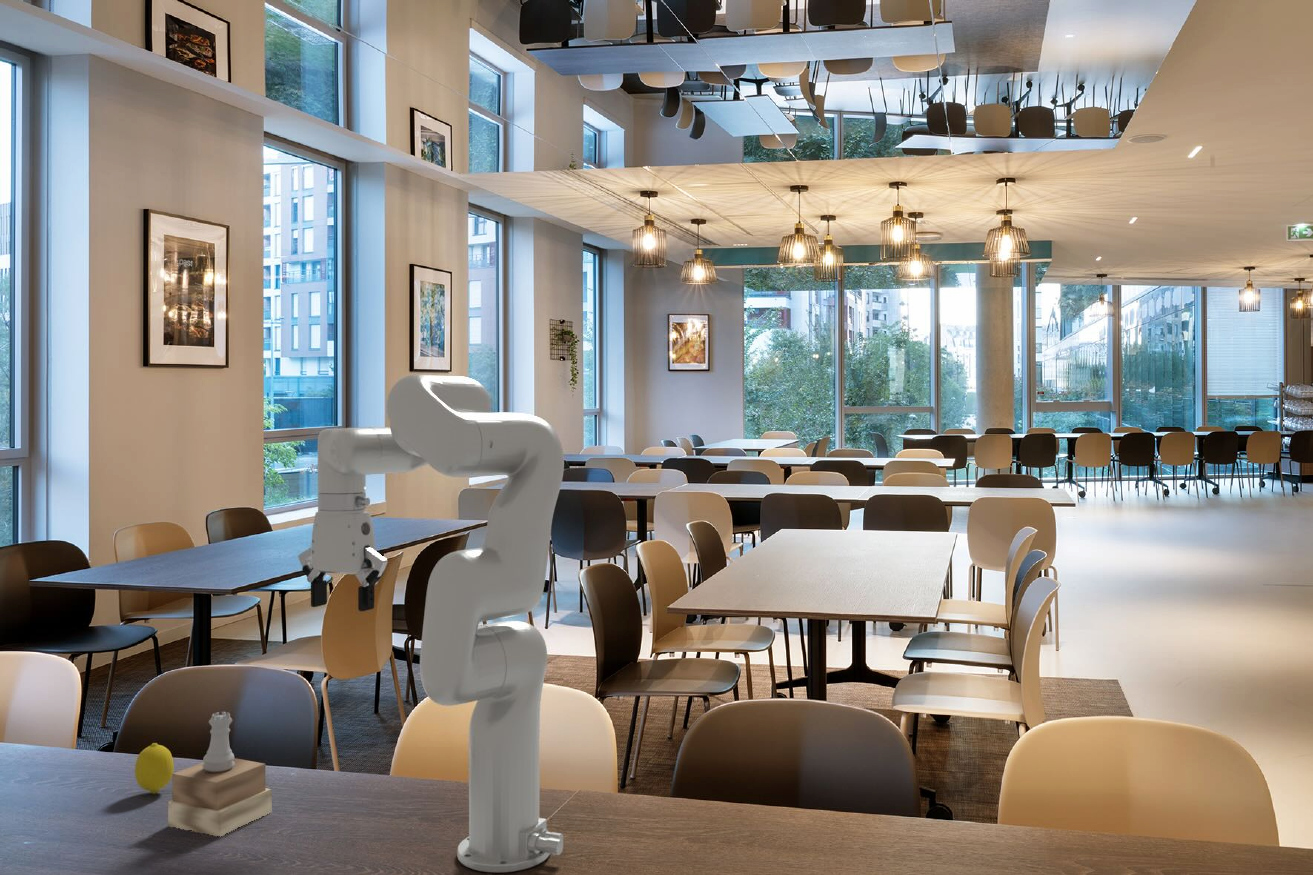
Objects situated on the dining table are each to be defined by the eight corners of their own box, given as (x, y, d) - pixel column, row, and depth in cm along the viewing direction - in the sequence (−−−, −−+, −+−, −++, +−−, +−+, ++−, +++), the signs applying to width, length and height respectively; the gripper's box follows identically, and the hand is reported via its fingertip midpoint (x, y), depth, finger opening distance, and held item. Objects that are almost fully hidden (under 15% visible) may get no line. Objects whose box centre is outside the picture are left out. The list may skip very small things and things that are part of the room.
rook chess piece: (240, 764, 155) (243, 711, 155) (224, 774, 151) (226, 720, 150) (212, 761, 156) (215, 708, 155) (195, 771, 151) (198, 717, 151)
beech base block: (271, 815, 156) (271, 789, 156) (220, 840, 147) (220, 812, 147) (221, 805, 160) (221, 780, 160) (168, 829, 151) (168, 802, 151)
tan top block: (265, 790, 156) (265, 763, 156) (217, 810, 147) (217, 782, 147) (221, 781, 159) (221, 755, 159) (172, 800, 151) (172, 773, 151)
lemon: (135, 790, 165) (135, 740, 165) (173, 785, 168) (173, 736, 167) (134, 802, 160) (134, 750, 160) (173, 796, 163) (173, 745, 162)
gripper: (399, 503, 170) (399, 607, 170) (316, 500, 177) (316, 600, 177) (369, 507, 163) (370, 615, 163) (284, 503, 170) (284, 607, 170)
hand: (342, 607), depth 170 cm, fingers open, 9 cm apart
